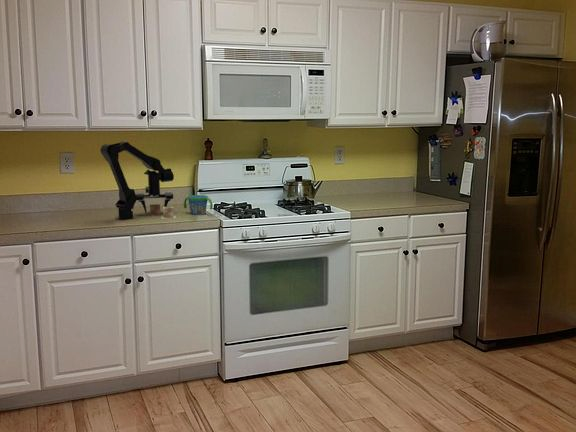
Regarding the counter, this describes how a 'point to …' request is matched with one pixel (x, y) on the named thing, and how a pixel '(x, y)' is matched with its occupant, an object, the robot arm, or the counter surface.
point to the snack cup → (198, 204)
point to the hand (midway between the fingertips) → (155, 212)
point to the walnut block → (155, 209)
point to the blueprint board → (166, 218)
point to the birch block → (168, 212)
